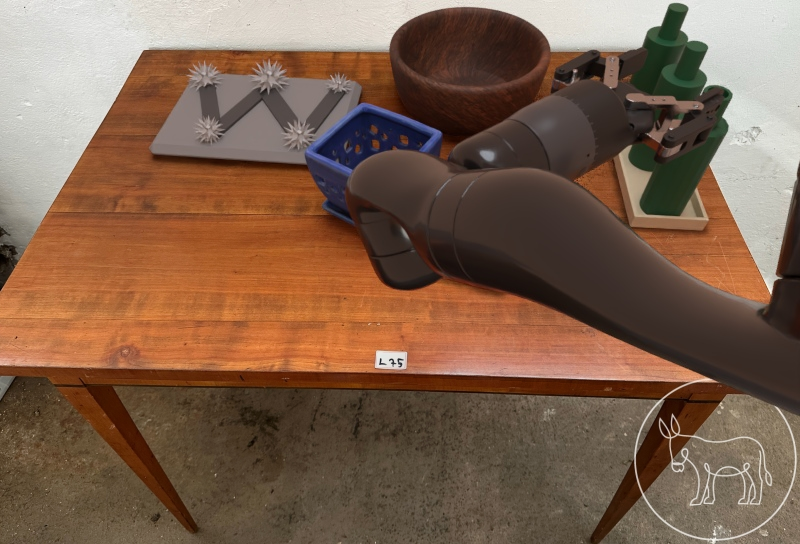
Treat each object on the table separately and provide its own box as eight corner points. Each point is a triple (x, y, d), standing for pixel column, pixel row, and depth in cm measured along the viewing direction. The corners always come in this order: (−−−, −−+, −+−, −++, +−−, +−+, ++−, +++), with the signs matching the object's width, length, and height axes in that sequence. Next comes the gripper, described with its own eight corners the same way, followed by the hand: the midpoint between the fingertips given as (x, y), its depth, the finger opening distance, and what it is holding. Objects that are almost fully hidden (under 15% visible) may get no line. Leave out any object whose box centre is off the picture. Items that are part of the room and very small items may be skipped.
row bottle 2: (669, 153, 82) (723, 39, 68) (663, 176, 79) (719, 61, 65) (631, 143, 84) (676, 30, 69) (624, 165, 80) (670, 51, 66)
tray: (702, 230, 73) (709, 220, 71) (629, 226, 73) (634, 216, 72) (659, 109, 90) (663, 98, 88) (600, 106, 90) (603, 96, 89)
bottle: (684, 199, 76) (746, 85, 62) (678, 226, 73) (743, 112, 59) (642, 188, 77) (695, 74, 63) (635, 214, 74) (689, 99, 60)
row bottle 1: (655, 113, 88) (702, 2, 74) (650, 133, 85) (698, 20, 71) (620, 105, 90) (660, -6, 76) (614, 124, 87) (654, 12, 72)
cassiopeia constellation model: (149, 160, 83) (131, 121, 78) (197, 81, 97) (184, 43, 91) (341, 173, 81) (337, 134, 75) (363, 90, 94) (360, 52, 89)
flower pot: (311, 219, 75) (298, 150, 66) (367, 165, 82) (362, 97, 73) (390, 259, 70) (387, 191, 61) (443, 199, 77) (447, 130, 68)
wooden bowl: (391, 62, 100) (390, 6, 92) (527, 60, 99) (537, 4, 91) (389, 149, 84) (387, 91, 76) (551, 147, 84) (566, 89, 76)
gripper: (638, 147, 40) (766, 73, 46) (508, 63, 48) (632, 9, 53) (609, 217, 46) (726, 145, 52) (498, 133, 53) (610, 78, 59)
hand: (678, 76), depth 52 cm, fingers open, 8 cm apart
